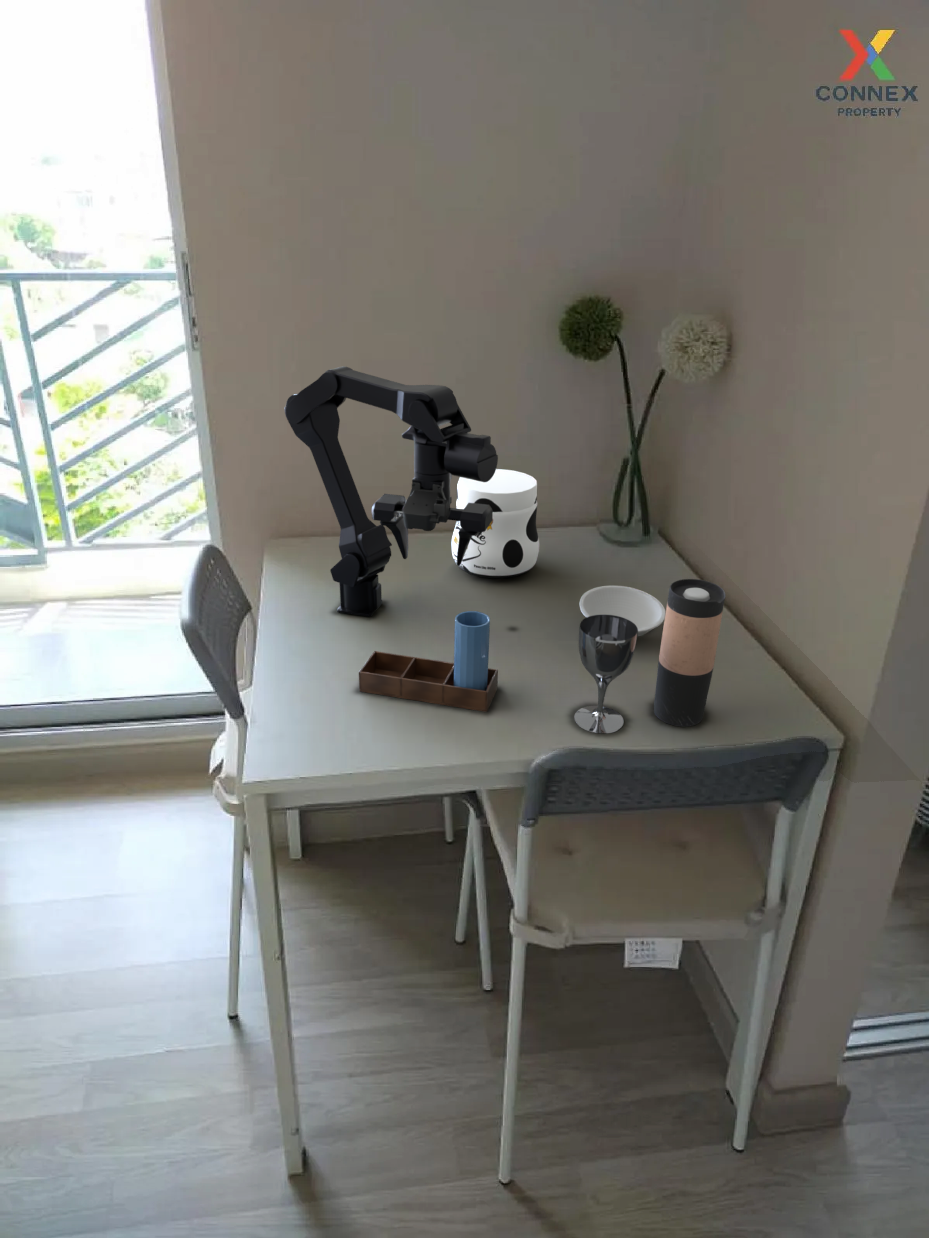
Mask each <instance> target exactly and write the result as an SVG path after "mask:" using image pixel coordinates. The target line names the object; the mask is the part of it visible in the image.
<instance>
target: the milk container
mask: <svg viewBox="0 0 929 1238" xmlns="http://www.w3.org/2000/svg"><path fill="white" fill-rule="evenodd" d="M468 503H477V504H486V505H489V506H490V507H491V508H492V511H493V516H492V522H491V523H490V525H489V526H488V528H487V529H486V531H485V532H479V533H478V534H477V535H476V536H472V538H471V540H470V542H469V545H468V547H467V550H466V552H465V555H464V557H463V560H462V562H461V565H460V566H457V553H458V544H459V534H458V532H459V530H460V529H461V528H462V527H461V526H460V521H456V522H455V525H454V526H455V527H454V530H453V533H452V537H451V544H450V545H451V554H452V558H453V561H454V563H455V564H456V566H457V567H458V568H459V569H460V570H462V571H464V572H465V573H467V574H470V575H473V576H476V577H481V578H486V579H487V578H488V579H508V578H514V577H518V576H521V575H523V574H527V572H529V571H531V569H533V568H534V567H535V565H536V563H537V561H538V557H539V553H540V537H539V534H538V530H537V529H538V528H537V512H538V481H537V479H536V478H534V476H532V475H530V474H527V473H525V472H521V471H517V470H513V469H512V470H511V469H501V468H496V471H495V473H494V475H493V477H492V478H491V479H490V480H489V481H488V482H481V481H476V480H472V479H467V478H463V477H459V478H458V481H457V486H456V508H457V509H464V508H465V507H466V506H467V504H468Z"/></svg>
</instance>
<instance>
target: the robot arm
mask: <svg viewBox="0 0 929 1238" xmlns="http://www.w3.org/2000/svg"><path fill="white" fill-rule="evenodd" d="M454 394H455V393H454V391H453V390H452V388H450V387H448V386H447V385H439V384H438V385H437V384H404V383H400V382H397V381H394V380H389V379H388V378H387V379H386V378H383V377H379V376H375V375H372V374H369V373H364V372H362V371H358V370H355V369H353V368H351V367H349V366H339V367H335V368H330V369H327V370H325V372H324V373H322V374H321V375H320V376H319V377H318V378H317V379H316V380H314V381H313V382H312V383H310V384H309V385H307V386H306V387H304V388H303V389H301V390H300V391H299V392H298V393H295V394H291V395H290V396H289V397H288V398H287V400H286V403H285V406H284V409H283V410H284V415H285V418H286V420H287V423H288V424H289V425H290V427H291V429H292V431H293V434H294V436H296V437H297V438H298V439H299V440H300V441H301V442H302V443H303V444H305V445H306V447H308V448H309V450H310V452H311V454H312V455H311V456H312V457H313V460H314V463H315V465H316V468H317V470H318V473H319V475H320V479H321V480H322V484H323V485H324V488H325V491H326V493H327V496H328V499H329V502H330V504H331V507H332V509H333V511H334V514H335V517H336V520H337V522H338V525H339V528H340V532H339V541H338V542H339V543H338V549H339V553H340V557H341V559H340V560H339V561H338V562H337V563H336V564H334V565H333V566H332V567H331V568H330V569H329V571H330V574H331V577H332V580H333V582H336V583H339V601H340V603H339V604H340V605H339V606H338V607H337V608H336V612H337V613H338V614H339V613H340V614H348V615H354V616H361V617H368V618H369V617H372V616H373V615H374V613H375V612H376V611H377V610H378V609H379V608H380V606H381V605H383V598H382V584H381V582H379V574H380V573H383V572H384V571H385V569H386V565H387V564H388V563H389V561H390V559H391V558H392V549H391V547H392V546H393V544H392V542H391V541H390V540H389V537H388V535H387V530H386V528H387V529H388V530H390V531H391V533H392V535H393V537H394V539H395V542H396V544H397V546H398V549H399V552H400V554H401V557H402V559H403V560H407V558H408V557H409V530H413V529H415V530H423V531H424V532H431V531H433V530H435V528H436V526H437V525H438V524H440V523H447V522H448V521H454V522H455V521H460V526H461V527H462V528H461V529H460V530H459V532H458V534H459V544H458V553H457V565H456V566H457V567H458V566H460V565H461V562H462V560H463V557H464V555H465V552H466V550H467V547H468V545H469V542H470V540H471V538H472V536H476V535H477V534H478V533H479V532H485V531H486V529H487V528H488V526H489V525H490V523H491V522H492V516H493V511H492V508H491V507H490V506H489V505H486V504H477V503H468V504H467V506H466V507H465V508H464V509H457V507H451V504H452V502H453V501H452V499H453V498H452V496H451V480H452V479H453V476H454V477H459V478H460V477H463V478H467V479H472V480H476V481H481V482H488V481H489V480H490V479H491V478H492V477H493V475H494V473H495V471H496V469H498V461H499V455H498V454H497V450H496V447H495V446H494V444H492V443H491V442H492V437H491V436H490V435H486V434H475V433H471V432H472V428H471V426H470V424H469V422H468V420H467V418H466V416H465V414H464V413H463V411H462V409H461V407H460V406H459V404H458V401H457V398H456V396H455V395H454ZM347 399H348V400H352V401H355V402H358V403H362V404H366V405H368V406H372V407H376V408H379V409H382V410H385V411H388V412H391V413H393V414H395V415H397V416H398V418H400V420H401V421H402V422H403V423H405V424H407V425H409V426H410V427H409V428H408V429H407V430H406V431H404V432H403V433H401V438H402V439H404V440H410V441H413V478H412V480H411V489H410V492H409V495H408V497H407V498H406V497H405V495H400V494H391V493H383V494H382V495H381V497H379V498H378V499H377V500H376V501H375V502H374V503H373V504H372V507H371V519H372V520H370V519H369V517H368V515H367V512H366V509H365V507H364V505H363V501H362V499H361V496H360V493H359V491H358V489H357V486H356V484H355V483H356V482H355V480H354V477H353V475H352V473H351V470H350V467H349V465H348V462H347V459H346V457H345V455H344V451H343V448H342V446H341V443H340V440H339V431H340V424H341V419H340V415H339V410H338V409H339V408H340V407H341V406H342V405H343V404H344V403H345V402H346V400H347ZM446 424H450V425H448V426H444V425H446ZM440 426H444V427H442V428H440ZM372 521H379V525H376V524H375V523H374V522H372Z"/></svg>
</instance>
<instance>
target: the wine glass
mask: <svg viewBox="0 0 929 1238" xmlns="http://www.w3.org/2000/svg"><path fill="white" fill-rule="evenodd" d="M637 636H638V628H637V626H636V625H635V624H634V623H633V622H631V621H630V620H628V619H625V618H623V617H619V616H615V615H593V616H589V617H587V618H586V617H585V618H583V619H582V620H581V621H580V623H579V629H578V652H579V658H580V661H581V665H582V666H583V667H584V669H585V670H586V671H587V672H588V673H589V675H590V676H591V677H592V678H593V680H594V681H595V683H596V685H597V705H588V706H583V707H581V708H579V709H578V710H577V711H576V712H575V713H574V715H573V719H574V722H575V724H576V725H577V726H578V727H580V728H581V729H583V730H585V731H587V732H590V733H594V734H595V733H596V734H611V733H615V732H617V731H620V729H622V727H623V726H624V721H625V720H624V717H623V716H622V715H621V714H620V713H619V712H618V711H617V710H615V709H613V708H611V707H607V706H604V701H605V697H606V692H607V689H608V687H609V685H610V684H611V683H612V682H613V681H614V680H615V679H616V678H618V677H619V676H621V675H622V674H624V672H626V670H628V668H629V666H630V665H631V663H632V660H633V658H634V655H635V651H636V647H637V642H638V637H639V636H638V637H637Z"/></svg>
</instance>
